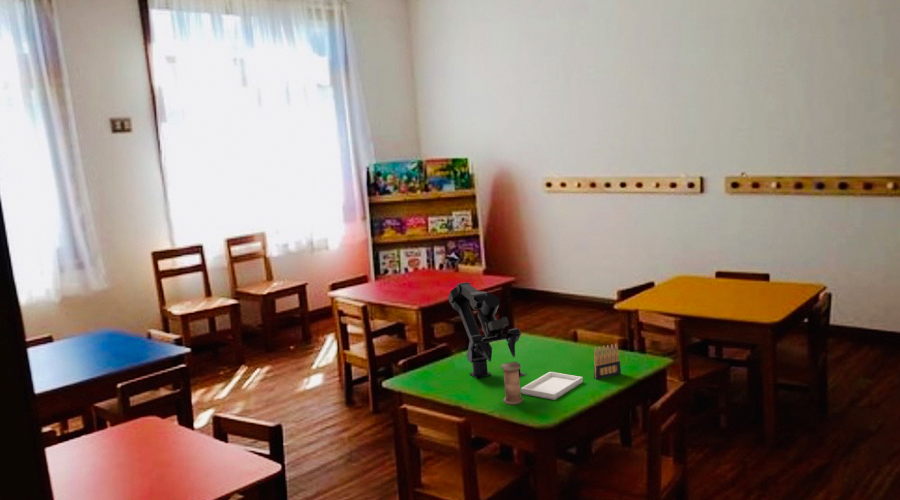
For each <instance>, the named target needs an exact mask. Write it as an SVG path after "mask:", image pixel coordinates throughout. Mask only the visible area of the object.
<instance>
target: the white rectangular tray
mask: <svg viewBox="0 0 900 500" xmlns="http://www.w3.org/2000/svg"><path fill="white" fill-rule="evenodd" d="M583 380H584V378H583V376H579V375H578V376H577V375H572V374H565V373H560V372H555V371H549V372H547V373H545V374H543V375H541V376H540V377H538V378H536V379H534V380H533V381H531V382H529V383H527V384H526V385H524V386H522V387H520V395H527V396H533V397H538V398H542V399H548V400H551V401H555V400H557V399H558V398H560V397H562V396H563V395H565V394H567V393H568V392H570V391H571V390H573V389H574V388H576V387H577V386H579V385H581V384H583V382H584V381H583Z"/></svg>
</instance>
